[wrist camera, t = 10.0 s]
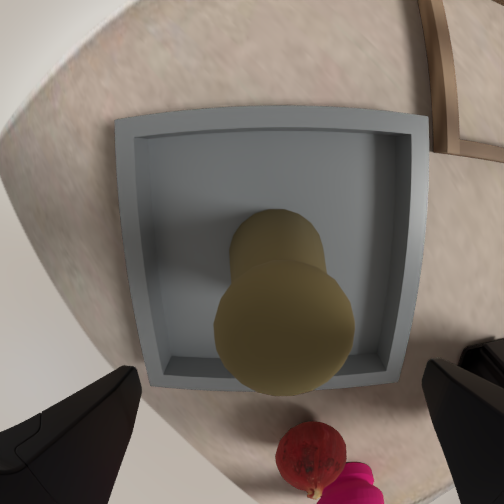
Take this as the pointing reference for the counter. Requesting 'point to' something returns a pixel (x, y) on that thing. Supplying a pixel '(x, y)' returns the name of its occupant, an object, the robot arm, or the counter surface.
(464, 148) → the frame
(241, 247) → the olive shaker
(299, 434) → the pomegranate
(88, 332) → the counter surface
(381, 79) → the counter surface
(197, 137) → the gray square tray
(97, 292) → the counter surface
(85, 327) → the counter surface
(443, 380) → the robot arm
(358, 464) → the pepper mill
